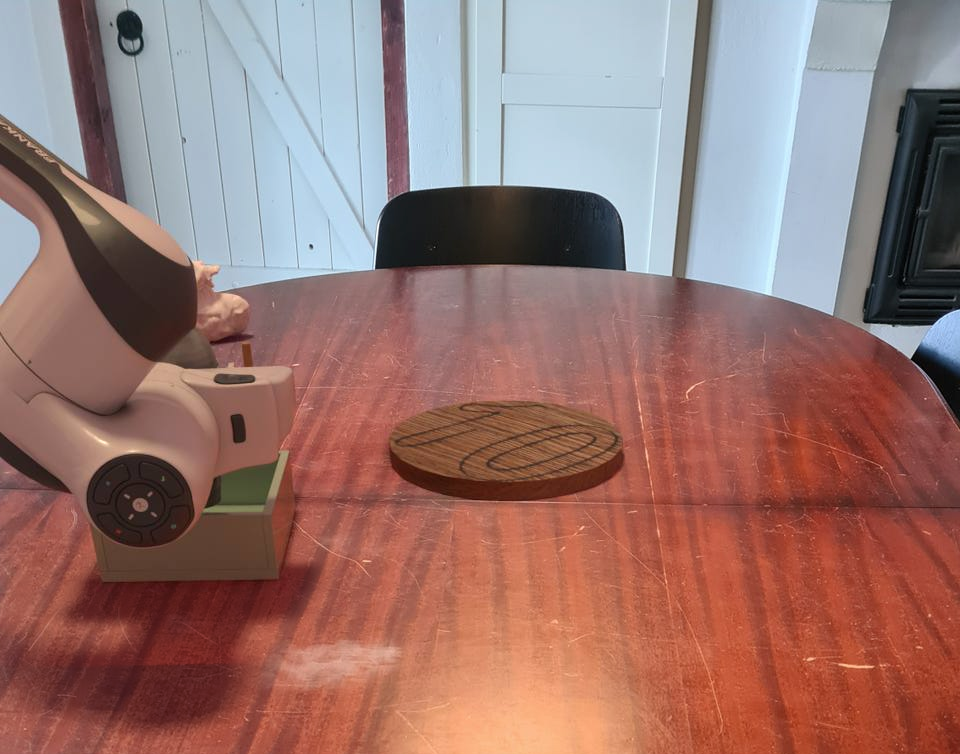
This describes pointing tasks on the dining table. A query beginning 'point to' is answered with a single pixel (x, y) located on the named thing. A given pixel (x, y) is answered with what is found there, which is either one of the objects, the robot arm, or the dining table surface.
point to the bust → (218, 307)
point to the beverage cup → (196, 356)
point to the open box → (218, 534)
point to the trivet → (505, 450)
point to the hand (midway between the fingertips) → (178, 373)
